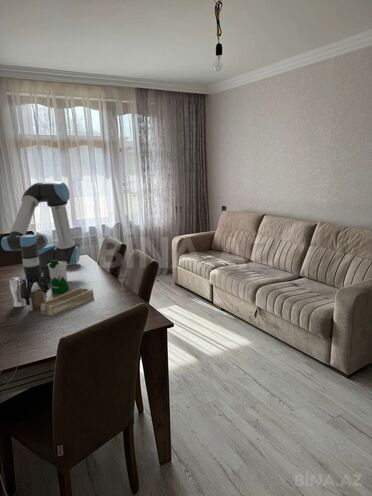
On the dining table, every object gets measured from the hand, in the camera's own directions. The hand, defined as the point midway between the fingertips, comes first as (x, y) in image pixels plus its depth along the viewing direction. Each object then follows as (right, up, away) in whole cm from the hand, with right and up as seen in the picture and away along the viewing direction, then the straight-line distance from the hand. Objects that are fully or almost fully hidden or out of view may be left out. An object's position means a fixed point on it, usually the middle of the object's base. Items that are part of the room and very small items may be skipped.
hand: (37, 307), depth 181 cm
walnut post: (0, -1, 0) cm, 1 cm away
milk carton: (+4, +5, +24) cm, 25 cm away
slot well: (+15, 0, +3) cm, 16 cm away
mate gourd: (-8, +17, +81) cm, 83 cm away
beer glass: (-12, 0, +6) cm, 13 cm away
